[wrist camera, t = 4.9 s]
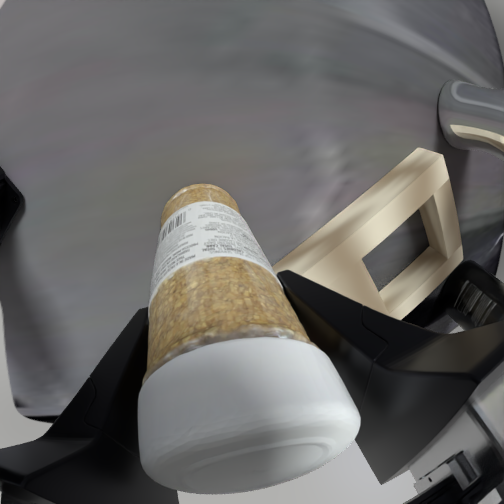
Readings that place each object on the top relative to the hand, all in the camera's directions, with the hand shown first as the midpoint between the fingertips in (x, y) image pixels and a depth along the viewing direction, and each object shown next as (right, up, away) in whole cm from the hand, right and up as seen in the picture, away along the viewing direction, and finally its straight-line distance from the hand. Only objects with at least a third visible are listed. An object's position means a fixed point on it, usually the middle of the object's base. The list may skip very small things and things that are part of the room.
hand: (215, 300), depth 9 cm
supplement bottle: (+25, -2, +17) cm, 30 cm away
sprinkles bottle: (-2, +3, +7) cm, 8 cm away
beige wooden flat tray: (+8, -1, +11) cm, 14 cm away
